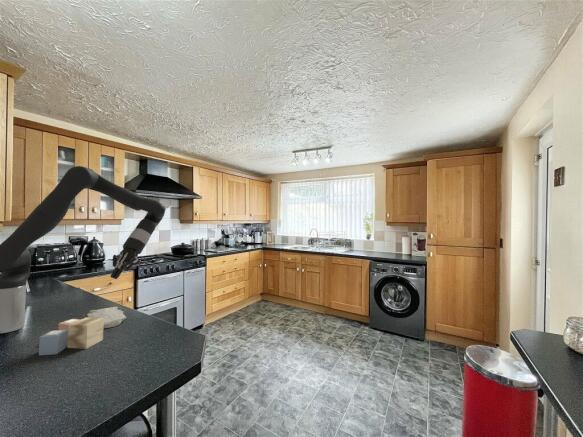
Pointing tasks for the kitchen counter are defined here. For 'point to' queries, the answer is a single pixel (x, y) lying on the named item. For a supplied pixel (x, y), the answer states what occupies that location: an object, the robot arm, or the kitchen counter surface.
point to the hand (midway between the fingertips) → (113, 278)
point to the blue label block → (53, 342)
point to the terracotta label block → (66, 324)
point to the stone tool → (108, 316)
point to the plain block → (85, 332)
